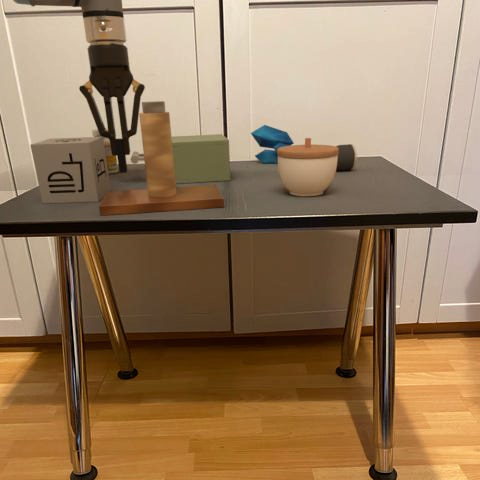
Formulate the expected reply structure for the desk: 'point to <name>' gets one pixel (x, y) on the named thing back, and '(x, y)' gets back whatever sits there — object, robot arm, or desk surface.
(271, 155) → the crystal
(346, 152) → the flashlight
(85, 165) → the icon cube
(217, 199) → the cutting board
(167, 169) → the pepper mill
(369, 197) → the desk surface
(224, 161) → the cabinet
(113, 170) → the supplement bottle
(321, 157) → the trinket box
